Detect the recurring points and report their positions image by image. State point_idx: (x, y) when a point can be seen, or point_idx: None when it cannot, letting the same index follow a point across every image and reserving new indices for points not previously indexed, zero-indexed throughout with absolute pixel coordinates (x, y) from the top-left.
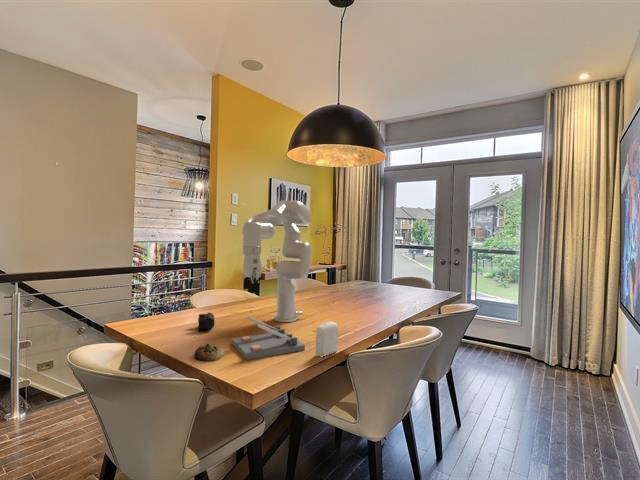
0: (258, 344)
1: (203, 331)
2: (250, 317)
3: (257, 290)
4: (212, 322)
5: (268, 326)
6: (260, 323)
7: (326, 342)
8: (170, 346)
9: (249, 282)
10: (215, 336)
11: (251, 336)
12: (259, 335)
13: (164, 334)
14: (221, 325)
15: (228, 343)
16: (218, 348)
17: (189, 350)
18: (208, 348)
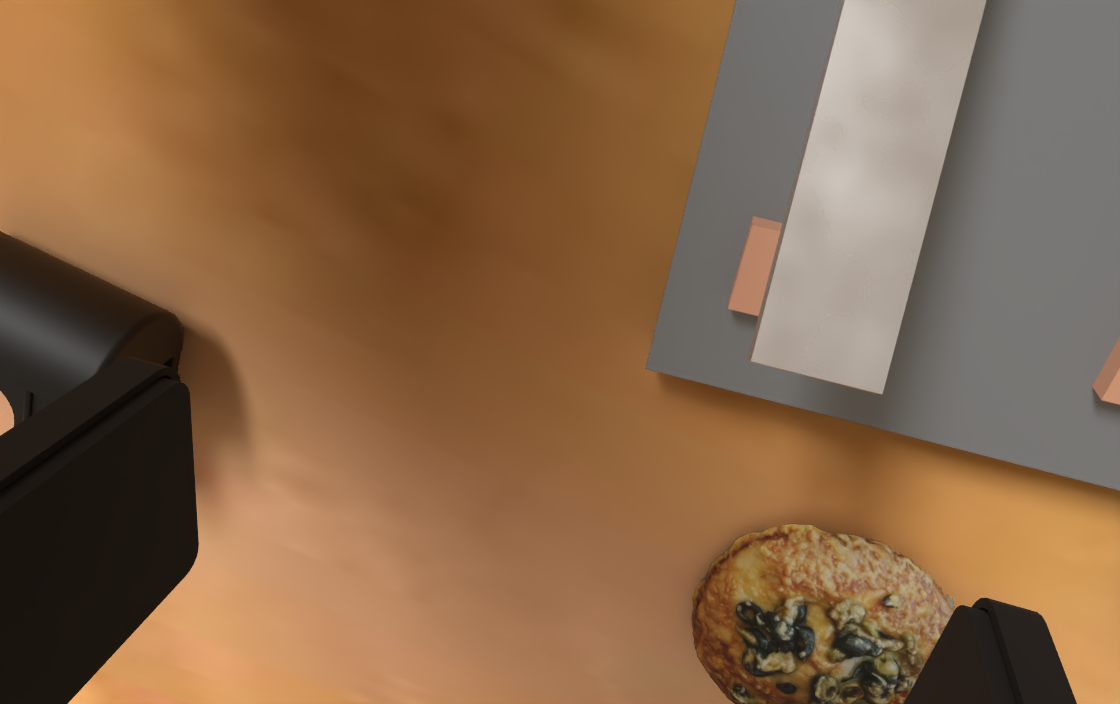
0: (1061, 252)
1: (175, 368)
2: (842, 371)
3: (1044, 694)
4: (135, 345)
5: (980, 3)
6: (934, 177)
7: None
8: (438, 682)
9: (6, 568)
10: (363, 353)
11: (723, 152)
12: (758, 37)
13: None
14: (15, 122)
15: (633, 365)
16: (868, 617)
17: (599, 648)
18: (847, 696)
